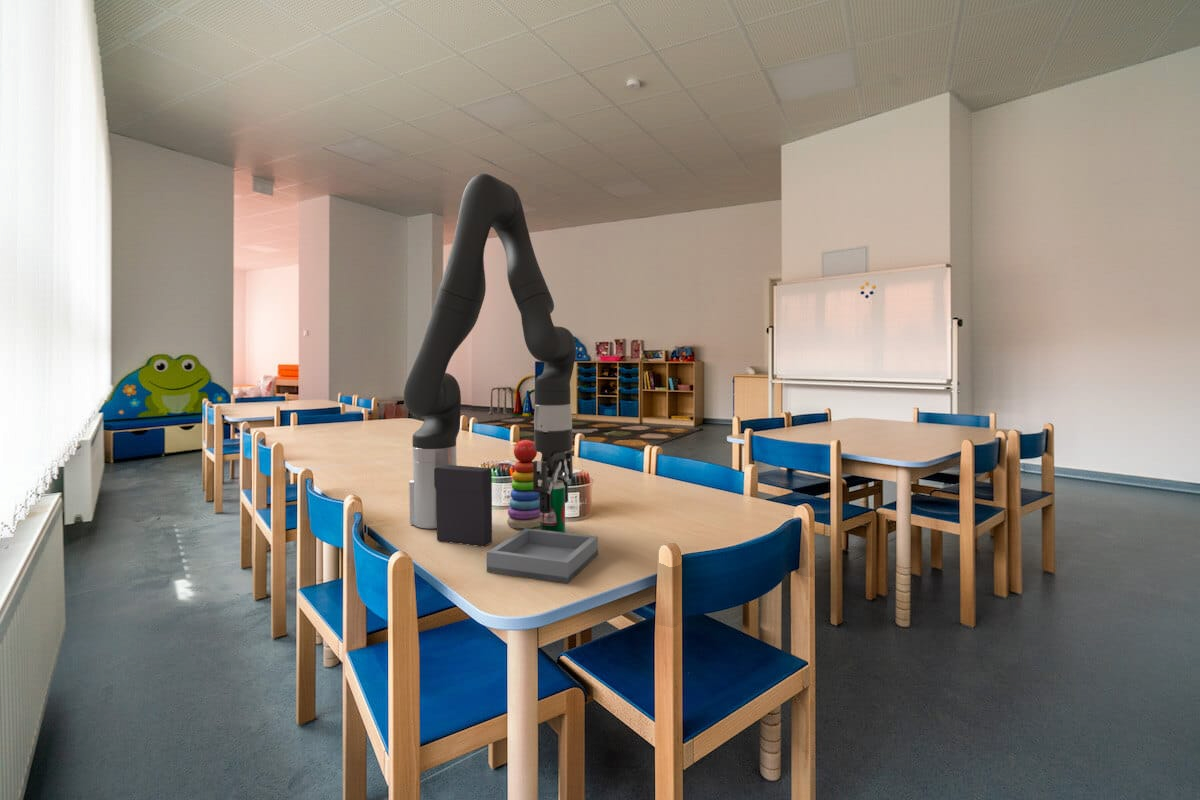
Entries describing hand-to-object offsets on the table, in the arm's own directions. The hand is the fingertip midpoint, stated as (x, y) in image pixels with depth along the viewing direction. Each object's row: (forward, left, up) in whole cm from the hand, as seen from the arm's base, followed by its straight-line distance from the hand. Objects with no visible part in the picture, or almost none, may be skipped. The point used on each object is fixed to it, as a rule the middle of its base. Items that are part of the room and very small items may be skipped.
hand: (554, 507), depth 118 cm
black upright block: (-16, -7, -7) cm, 19 cm away
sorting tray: (+4, -12, -7) cm, 15 cm away
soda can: (0, 0, -7) cm, 7 cm away
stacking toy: (-10, +8, -7) cm, 15 cm away
